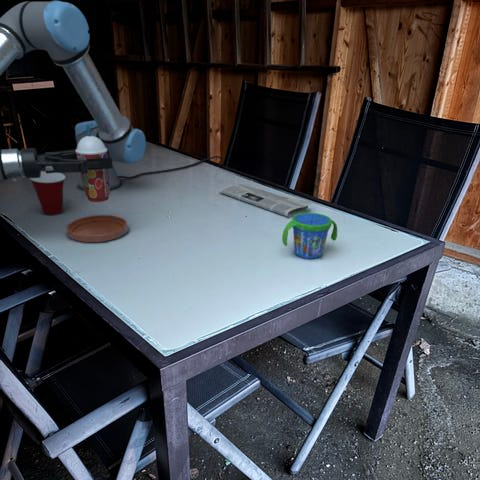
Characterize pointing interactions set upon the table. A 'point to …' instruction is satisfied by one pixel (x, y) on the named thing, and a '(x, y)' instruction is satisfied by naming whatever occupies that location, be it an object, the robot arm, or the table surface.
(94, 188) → the smoothie
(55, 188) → the plastic cup
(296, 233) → the snack cup
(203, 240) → the table surface
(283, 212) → the newspaper
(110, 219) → the plate
